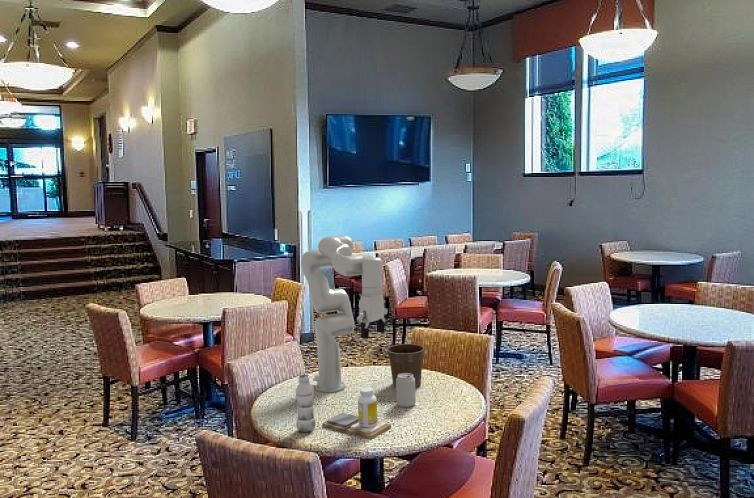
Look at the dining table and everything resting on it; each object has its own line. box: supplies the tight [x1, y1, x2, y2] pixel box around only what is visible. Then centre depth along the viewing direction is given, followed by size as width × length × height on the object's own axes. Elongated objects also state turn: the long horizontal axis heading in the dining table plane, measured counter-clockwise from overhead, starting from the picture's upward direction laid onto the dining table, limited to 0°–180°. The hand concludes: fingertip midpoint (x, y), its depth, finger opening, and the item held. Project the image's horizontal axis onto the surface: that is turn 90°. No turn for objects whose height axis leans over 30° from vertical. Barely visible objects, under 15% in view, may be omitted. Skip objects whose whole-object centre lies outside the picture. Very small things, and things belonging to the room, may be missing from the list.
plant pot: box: [386, 343, 425, 389], centre depth 266 cm, size 16×16×16 cm
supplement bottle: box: [357, 386, 379, 428], centre depth 218 cm, size 7×7×13 cm
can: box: [395, 373, 417, 408], centre depth 242 cm, size 8×8×12 cm
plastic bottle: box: [295, 374, 316, 433], centre depth 219 cm, size 6×7×20 cm
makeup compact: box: [321, 412, 392, 440], centre depth 222 cm, size 22×12×2 cm, turn 54°
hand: (373, 335), depth 232 cm, fingers open, 9 cm apart
